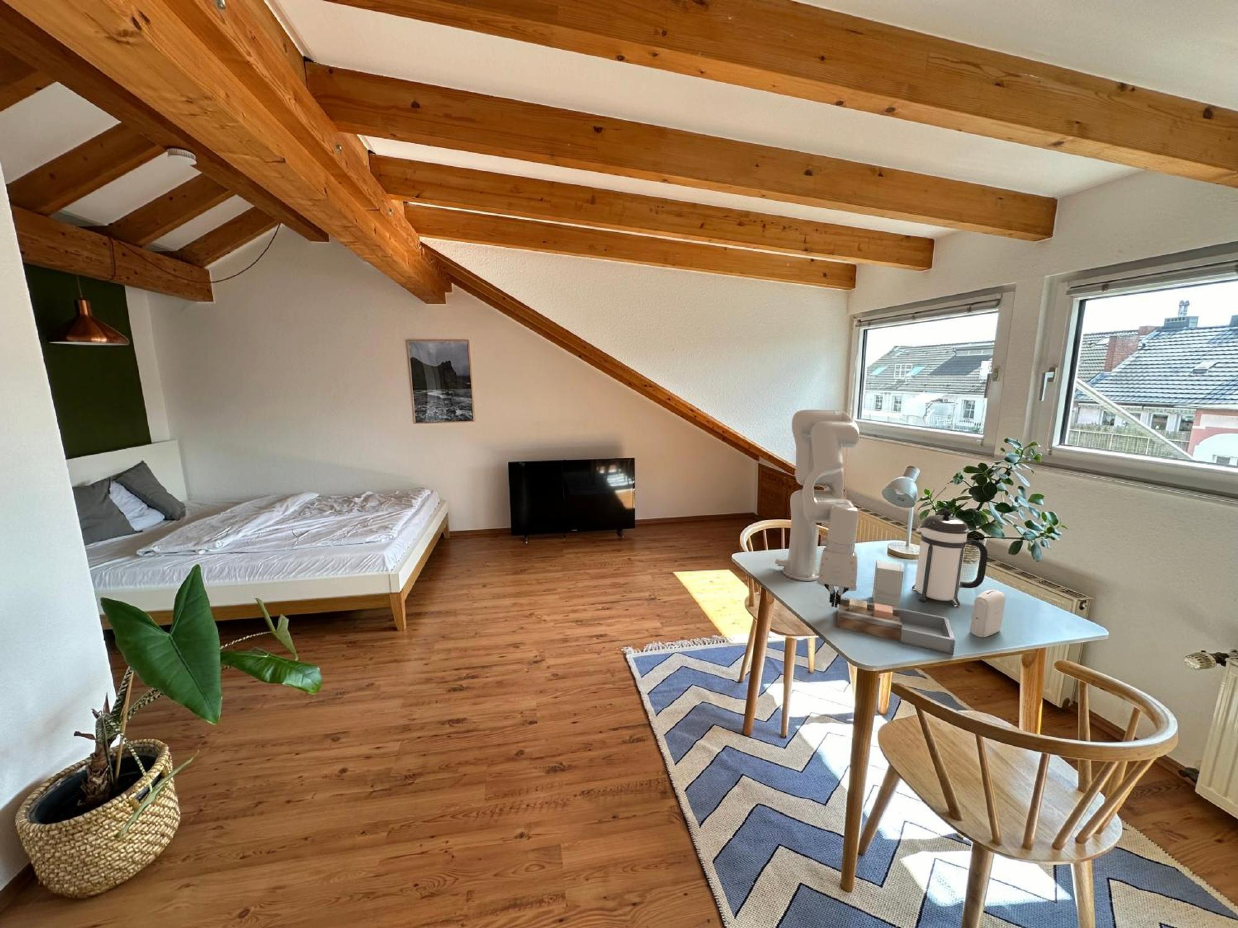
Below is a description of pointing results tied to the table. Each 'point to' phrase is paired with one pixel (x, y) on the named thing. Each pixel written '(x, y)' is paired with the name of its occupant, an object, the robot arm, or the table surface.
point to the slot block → (869, 621)
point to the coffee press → (945, 558)
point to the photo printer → (987, 613)
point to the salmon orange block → (883, 611)
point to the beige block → (858, 606)
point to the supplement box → (887, 584)
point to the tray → (926, 631)
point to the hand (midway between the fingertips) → (834, 605)
